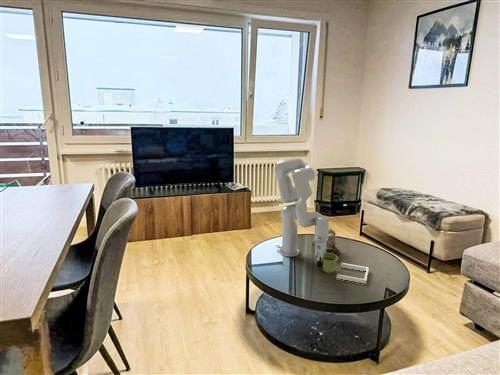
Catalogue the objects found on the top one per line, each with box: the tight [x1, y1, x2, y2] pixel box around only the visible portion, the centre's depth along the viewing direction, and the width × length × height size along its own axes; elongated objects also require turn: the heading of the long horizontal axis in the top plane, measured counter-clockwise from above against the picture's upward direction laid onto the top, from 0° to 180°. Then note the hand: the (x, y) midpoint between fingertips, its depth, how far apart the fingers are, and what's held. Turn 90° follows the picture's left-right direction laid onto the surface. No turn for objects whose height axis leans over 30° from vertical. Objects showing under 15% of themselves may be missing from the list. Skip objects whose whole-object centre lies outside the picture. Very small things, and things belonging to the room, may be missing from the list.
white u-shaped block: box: [336, 261, 370, 284], centre depth 189 cm, size 15×15×3 cm
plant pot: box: [322, 253, 339, 274], centre depth 193 cm, size 9×9×9 cm
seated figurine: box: [327, 227, 340, 257], centre depth 214 cm, size 18×12×17 cm, turn 168°
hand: (319, 266), depth 196 cm, fingers closed
